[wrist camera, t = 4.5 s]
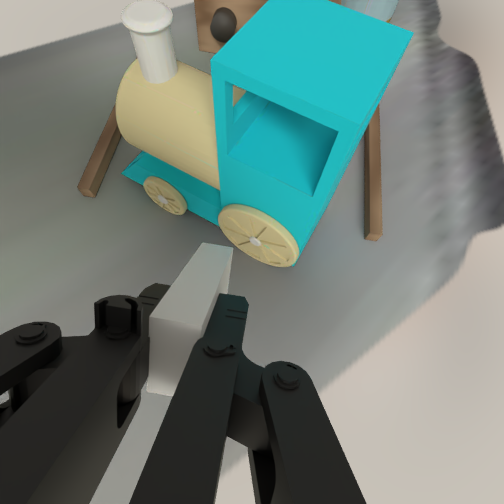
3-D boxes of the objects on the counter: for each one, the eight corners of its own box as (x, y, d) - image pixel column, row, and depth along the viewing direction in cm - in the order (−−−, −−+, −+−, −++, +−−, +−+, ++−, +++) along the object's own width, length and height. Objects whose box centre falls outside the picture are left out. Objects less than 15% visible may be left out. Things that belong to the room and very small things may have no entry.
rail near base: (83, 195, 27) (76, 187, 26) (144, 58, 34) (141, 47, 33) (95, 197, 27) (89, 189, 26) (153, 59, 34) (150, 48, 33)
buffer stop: (196, 60, 34) (188, -3, 29) (205, 33, 36) (199, -30, 31) (323, 78, 34) (340, 18, 29) (325, 51, 36) (342, -10, 30)
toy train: (172, 128, 30) (120, -88, 17) (328, 205, 28) (419, 23, 14) (118, 186, 27) (2, -18, 14) (287, 278, 25) (352, 139, 11)
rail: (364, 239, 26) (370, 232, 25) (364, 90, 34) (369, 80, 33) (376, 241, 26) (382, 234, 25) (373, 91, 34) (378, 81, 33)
